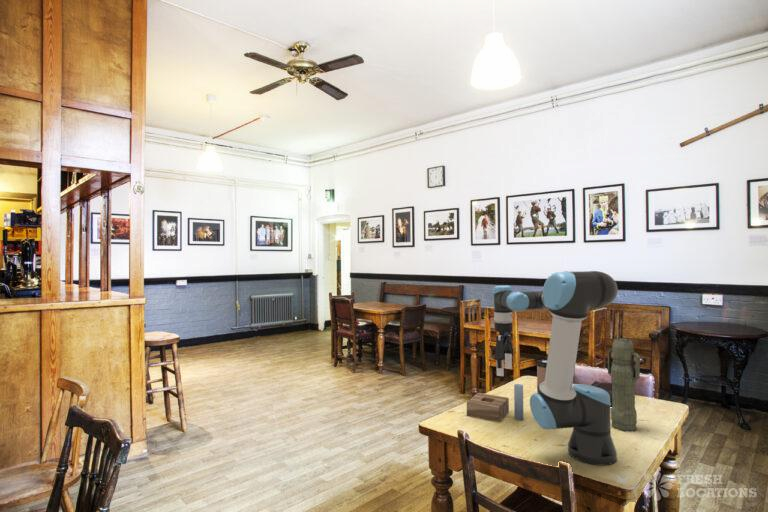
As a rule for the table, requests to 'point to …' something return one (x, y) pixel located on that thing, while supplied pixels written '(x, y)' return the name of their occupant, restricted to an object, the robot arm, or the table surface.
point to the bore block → (488, 407)
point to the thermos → (623, 383)
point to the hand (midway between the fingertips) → (504, 372)
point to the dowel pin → (518, 402)
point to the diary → (604, 388)
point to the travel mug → (541, 371)
